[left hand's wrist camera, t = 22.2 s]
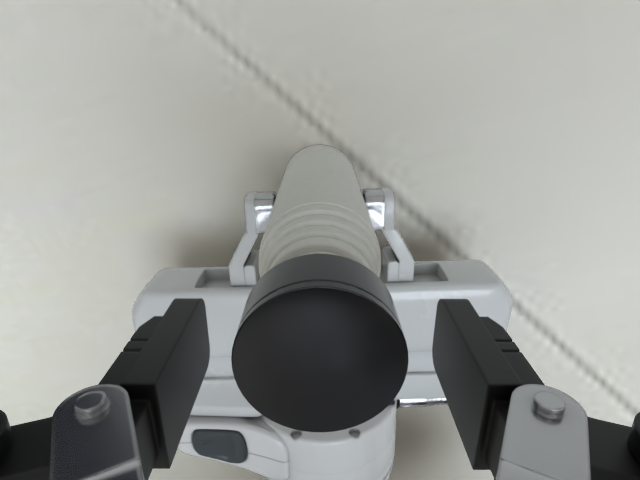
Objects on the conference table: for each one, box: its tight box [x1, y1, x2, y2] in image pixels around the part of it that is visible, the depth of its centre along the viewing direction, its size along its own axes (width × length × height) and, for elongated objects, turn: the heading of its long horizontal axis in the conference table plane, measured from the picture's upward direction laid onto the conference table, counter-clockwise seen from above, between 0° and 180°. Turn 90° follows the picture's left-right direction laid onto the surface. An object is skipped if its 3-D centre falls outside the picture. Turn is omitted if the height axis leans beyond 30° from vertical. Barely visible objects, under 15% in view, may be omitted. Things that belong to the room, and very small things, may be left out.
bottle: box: [258, 145, 381, 278], centre depth 20 cm, size 5×5×18 cm
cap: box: [231, 253, 409, 432], centre depth 11 cm, size 4×4×2 cm
